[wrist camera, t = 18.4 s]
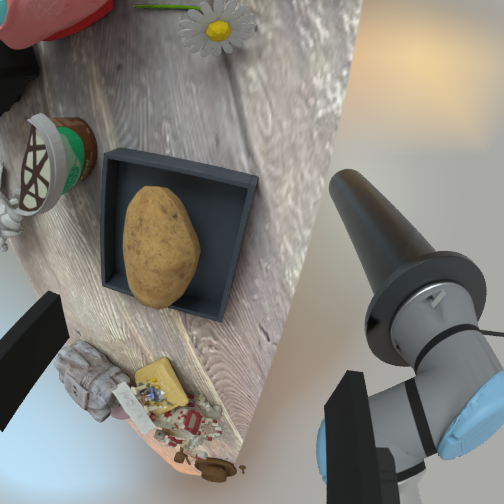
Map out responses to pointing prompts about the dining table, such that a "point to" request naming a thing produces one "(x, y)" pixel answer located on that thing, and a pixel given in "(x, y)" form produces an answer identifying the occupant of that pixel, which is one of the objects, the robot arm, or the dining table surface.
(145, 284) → the potato
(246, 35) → the decorative flower
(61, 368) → the figurine
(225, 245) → the tray
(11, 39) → the toy
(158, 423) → the voxel character
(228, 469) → the place setting
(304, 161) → the dining table surface
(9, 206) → the fairy figurine
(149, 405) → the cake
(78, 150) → the food container
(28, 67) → the camera
